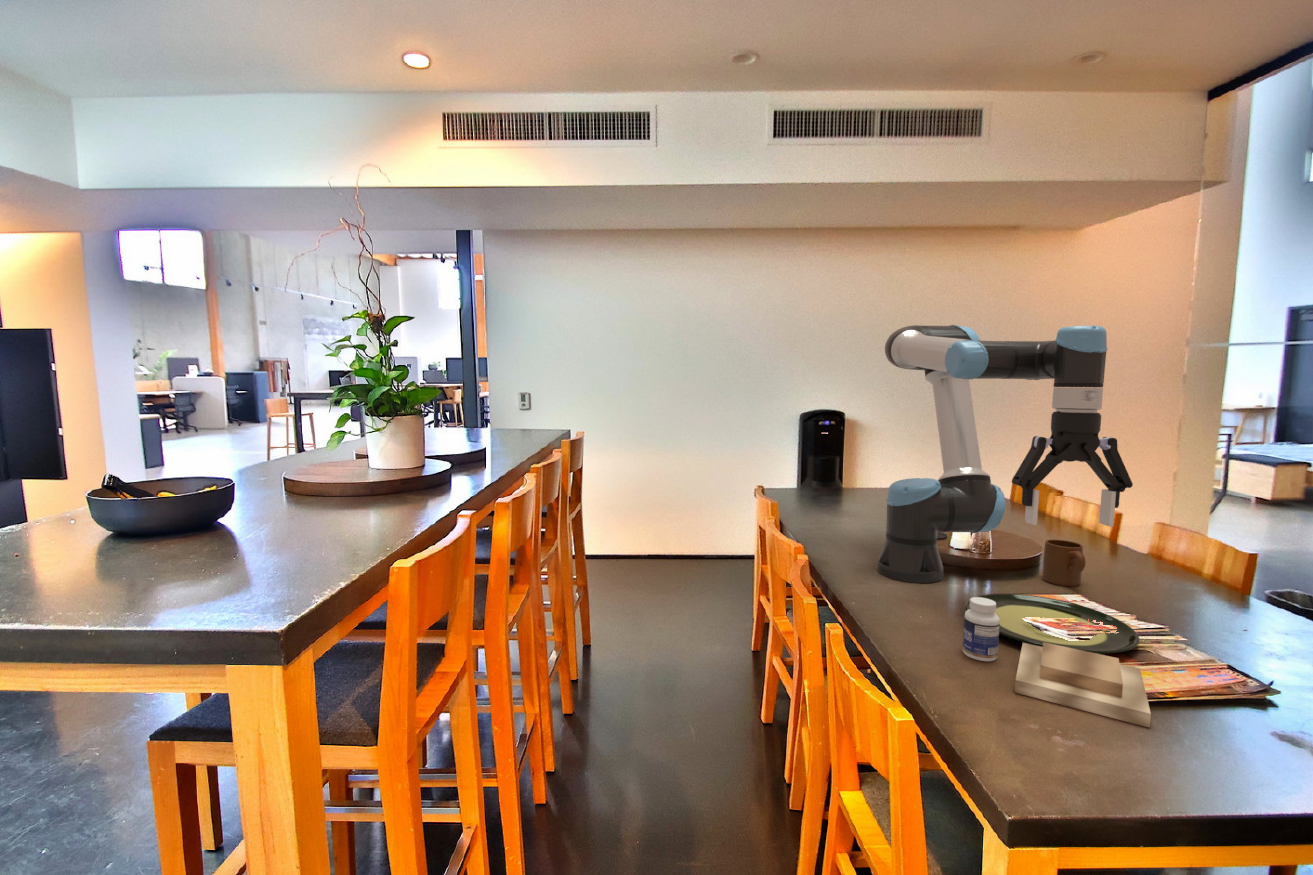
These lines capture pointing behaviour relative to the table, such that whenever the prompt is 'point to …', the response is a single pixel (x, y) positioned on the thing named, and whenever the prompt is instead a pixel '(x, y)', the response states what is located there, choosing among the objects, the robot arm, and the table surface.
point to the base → (1083, 696)
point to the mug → (1063, 562)
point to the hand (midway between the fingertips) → (1068, 524)
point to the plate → (1023, 606)
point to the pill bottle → (981, 630)
